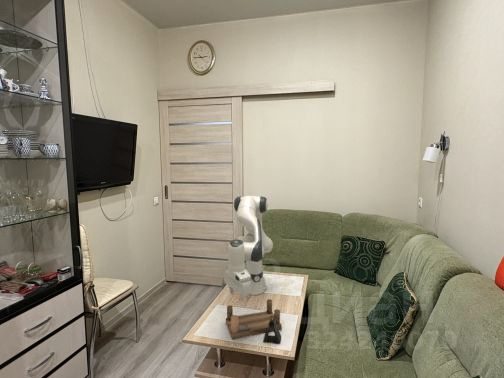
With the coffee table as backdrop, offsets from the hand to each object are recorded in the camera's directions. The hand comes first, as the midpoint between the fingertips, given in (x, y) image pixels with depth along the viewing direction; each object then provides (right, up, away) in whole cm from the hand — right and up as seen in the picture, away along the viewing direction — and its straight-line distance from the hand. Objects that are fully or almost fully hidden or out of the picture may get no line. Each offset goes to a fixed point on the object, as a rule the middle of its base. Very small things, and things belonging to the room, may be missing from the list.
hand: (236, 297), depth 157 cm
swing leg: (+2, -19, +5) cm, 20 cm away
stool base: (+8, -21, +14) cm, 27 cm away
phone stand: (+18, -23, +2) cm, 30 cm away
